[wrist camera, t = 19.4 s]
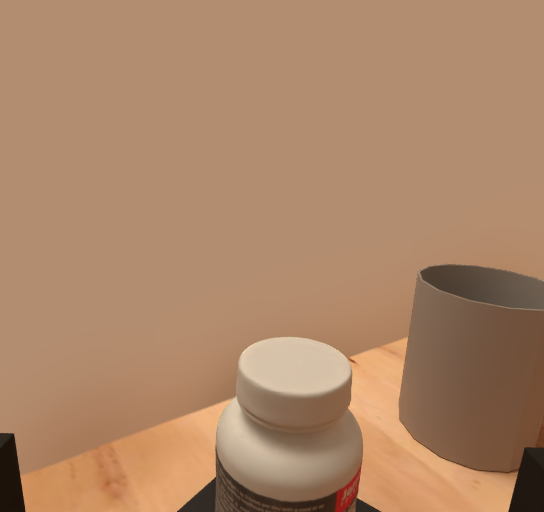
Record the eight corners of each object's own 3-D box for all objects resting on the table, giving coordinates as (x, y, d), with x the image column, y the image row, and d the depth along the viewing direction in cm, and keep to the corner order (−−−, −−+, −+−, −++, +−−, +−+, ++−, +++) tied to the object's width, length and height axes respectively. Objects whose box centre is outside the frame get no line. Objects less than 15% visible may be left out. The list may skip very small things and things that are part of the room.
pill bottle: (358, 655, 14) (393, 413, 11) (203, 650, 14) (203, 406, 11) (334, 516, 19) (355, 329, 16) (222, 512, 19) (225, 324, 16)
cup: (397, 379, 32) (414, 258, 29) (511, 399, 30) (541, 272, 27) (401, 453, 24) (425, 297, 21) (557, 488, 22) (604, 321, 19)
